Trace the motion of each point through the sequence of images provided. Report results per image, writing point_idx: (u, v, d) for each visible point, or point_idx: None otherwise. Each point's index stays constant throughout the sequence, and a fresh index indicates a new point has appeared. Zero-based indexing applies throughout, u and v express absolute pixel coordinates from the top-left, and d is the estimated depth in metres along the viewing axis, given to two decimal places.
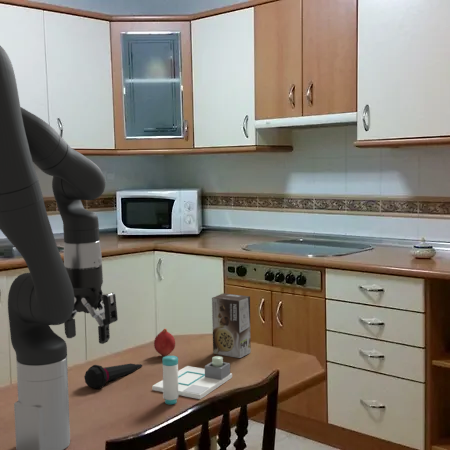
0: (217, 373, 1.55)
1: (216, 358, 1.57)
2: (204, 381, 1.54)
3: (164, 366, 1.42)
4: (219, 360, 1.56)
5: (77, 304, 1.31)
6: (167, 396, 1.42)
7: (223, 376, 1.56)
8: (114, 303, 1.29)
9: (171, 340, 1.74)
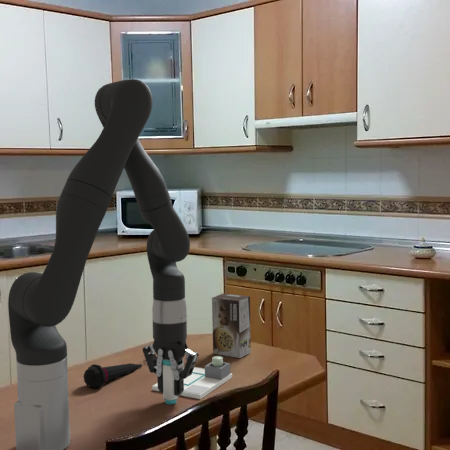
0: (217, 373, 1.55)
1: (216, 358, 1.57)
2: (204, 381, 1.54)
3: (164, 366, 1.42)
4: (219, 360, 1.56)
5: (165, 355, 1.42)
6: (167, 396, 1.42)
7: (223, 376, 1.56)
8: (195, 362, 1.41)
9: None
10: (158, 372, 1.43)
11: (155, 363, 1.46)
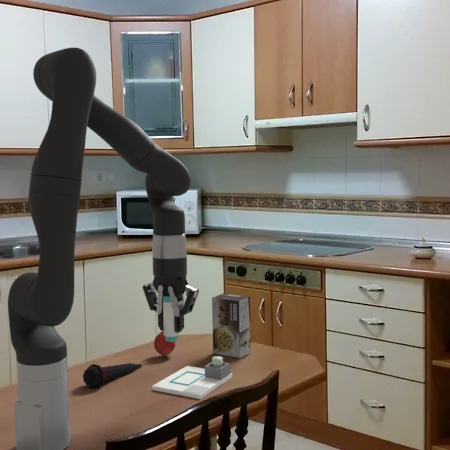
0: (217, 373, 1.55)
1: (216, 358, 1.57)
2: (204, 381, 1.54)
3: (164, 303, 1.41)
4: (219, 360, 1.56)
5: (165, 292, 1.41)
6: (167, 333, 1.41)
7: (223, 376, 1.56)
8: (195, 298, 1.40)
9: None
10: (158, 310, 1.42)
11: (155, 301, 1.45)
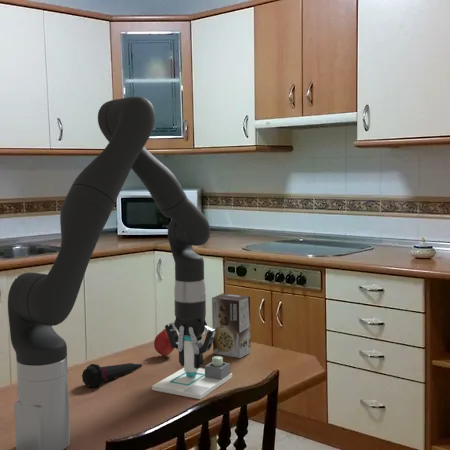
0: (217, 373, 1.55)
1: (216, 358, 1.57)
2: (204, 381, 1.54)
3: (185, 341, 1.55)
4: (219, 360, 1.56)
5: (186, 332, 1.55)
6: (188, 369, 1.56)
7: (223, 376, 1.56)
8: (213, 337, 1.54)
9: None
10: (179, 347, 1.57)
11: (176, 339, 1.59)
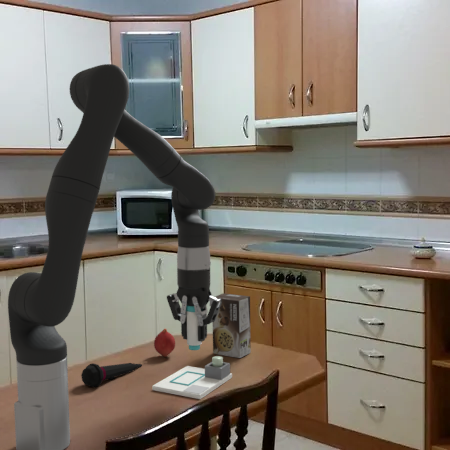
0: (217, 373, 1.55)
1: (216, 358, 1.57)
2: (204, 381, 1.54)
3: (188, 312, 1.46)
4: (219, 360, 1.56)
5: (189, 302, 1.46)
6: (191, 342, 1.46)
7: (223, 376, 1.56)
8: (218, 308, 1.45)
9: (171, 340, 1.74)
10: (182, 319, 1.47)
11: (179, 311, 1.50)
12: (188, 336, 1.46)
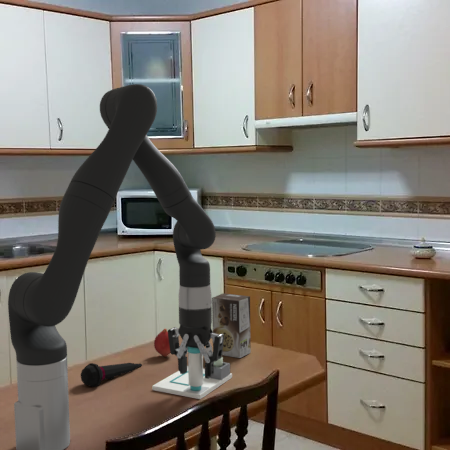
0: (217, 373, 1.55)
1: None
2: (204, 381, 1.54)
3: (190, 354, 1.47)
4: (219, 360, 1.56)
5: (189, 340, 1.47)
6: (192, 383, 1.47)
7: (223, 376, 1.56)
8: (222, 343, 1.45)
9: None
10: (179, 354, 1.48)
11: (176, 345, 1.51)
12: (189, 377, 1.47)
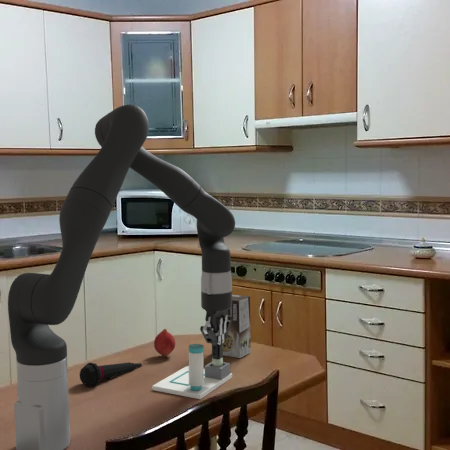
0: (217, 373, 1.55)
1: None
2: (204, 381, 1.54)
3: (190, 353, 1.47)
4: (219, 360, 1.56)
5: None
6: (193, 383, 1.47)
7: (223, 376, 1.56)
8: (209, 335, 1.52)
9: (171, 340, 1.74)
10: None
11: None
12: (190, 377, 1.47)
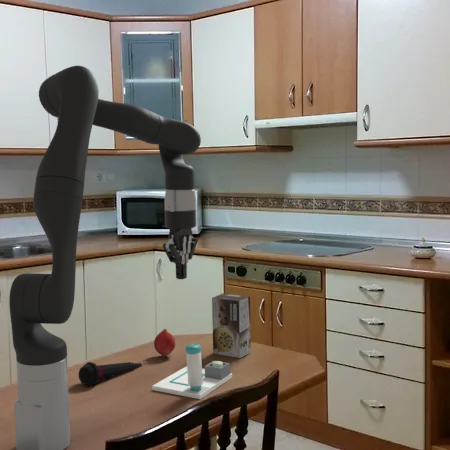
0: (217, 373, 1.55)
1: (216, 363, 1.57)
2: (204, 381, 1.54)
3: (188, 354, 1.46)
4: (220, 365, 1.56)
5: None
6: (192, 383, 1.47)
7: (223, 376, 1.56)
8: (172, 252, 1.51)
9: (171, 340, 1.74)
10: None
11: None
12: (189, 377, 1.47)
